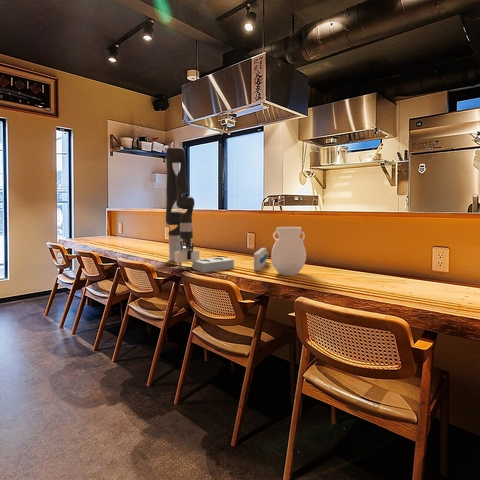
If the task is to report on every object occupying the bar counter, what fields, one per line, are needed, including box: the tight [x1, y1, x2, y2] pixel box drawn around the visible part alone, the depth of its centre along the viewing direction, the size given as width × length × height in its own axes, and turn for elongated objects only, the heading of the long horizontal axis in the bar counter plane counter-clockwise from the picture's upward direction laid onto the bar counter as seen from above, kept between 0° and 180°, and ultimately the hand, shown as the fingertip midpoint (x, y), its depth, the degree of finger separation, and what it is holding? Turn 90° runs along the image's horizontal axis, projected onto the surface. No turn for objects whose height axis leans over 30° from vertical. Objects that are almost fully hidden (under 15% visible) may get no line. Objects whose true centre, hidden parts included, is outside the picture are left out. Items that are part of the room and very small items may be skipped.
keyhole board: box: [191, 256, 235, 273], centre depth 202 cm, size 14×20×5 cm
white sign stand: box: [174, 249, 200, 270], centre depth 206 cm, size 5×14×10 cm, turn 124°
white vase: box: [270, 226, 307, 276], centre depth 184 cm, size 19×18×25 cm
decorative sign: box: [253, 247, 269, 272], centre depth 208 cm, size 32×4×10 cm, turn 166°
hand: (187, 258), depth 206 cm, fingers closed on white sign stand, 5 cm apart
